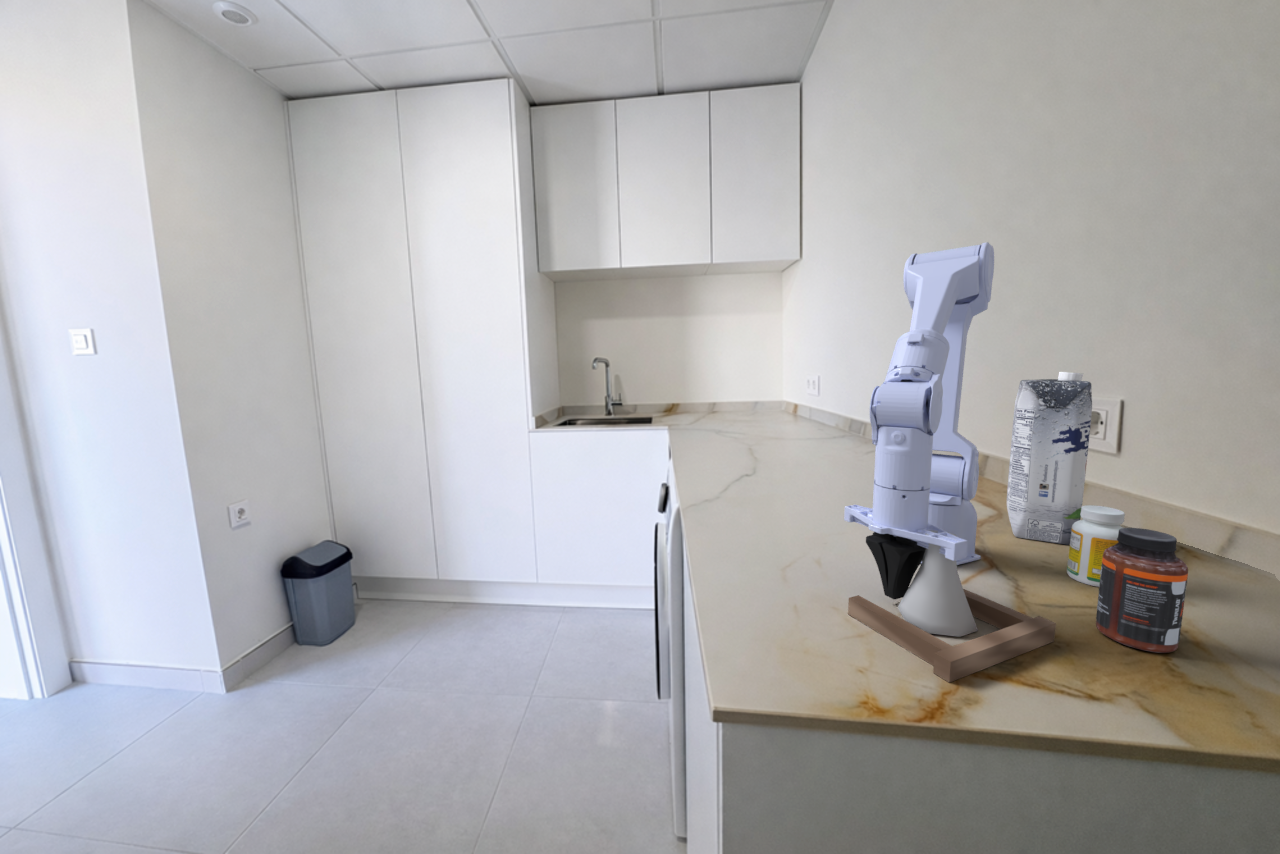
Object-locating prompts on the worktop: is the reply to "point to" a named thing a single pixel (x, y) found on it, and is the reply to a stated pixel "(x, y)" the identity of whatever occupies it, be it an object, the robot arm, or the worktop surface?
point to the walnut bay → (968, 656)
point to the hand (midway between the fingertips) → (895, 595)
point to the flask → (937, 597)
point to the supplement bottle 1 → (1092, 542)
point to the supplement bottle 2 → (1142, 591)
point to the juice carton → (1049, 457)
